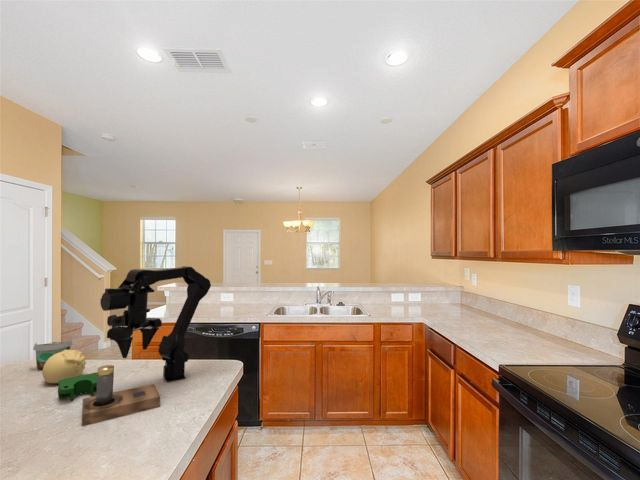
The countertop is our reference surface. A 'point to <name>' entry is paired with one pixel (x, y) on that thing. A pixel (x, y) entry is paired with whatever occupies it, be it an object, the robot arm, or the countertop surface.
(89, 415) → the socket plate
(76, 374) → the sculpture
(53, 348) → the food container
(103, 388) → the grey and gold cylinder
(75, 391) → the clamp
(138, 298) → the robot arm
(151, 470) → the countertop surface
